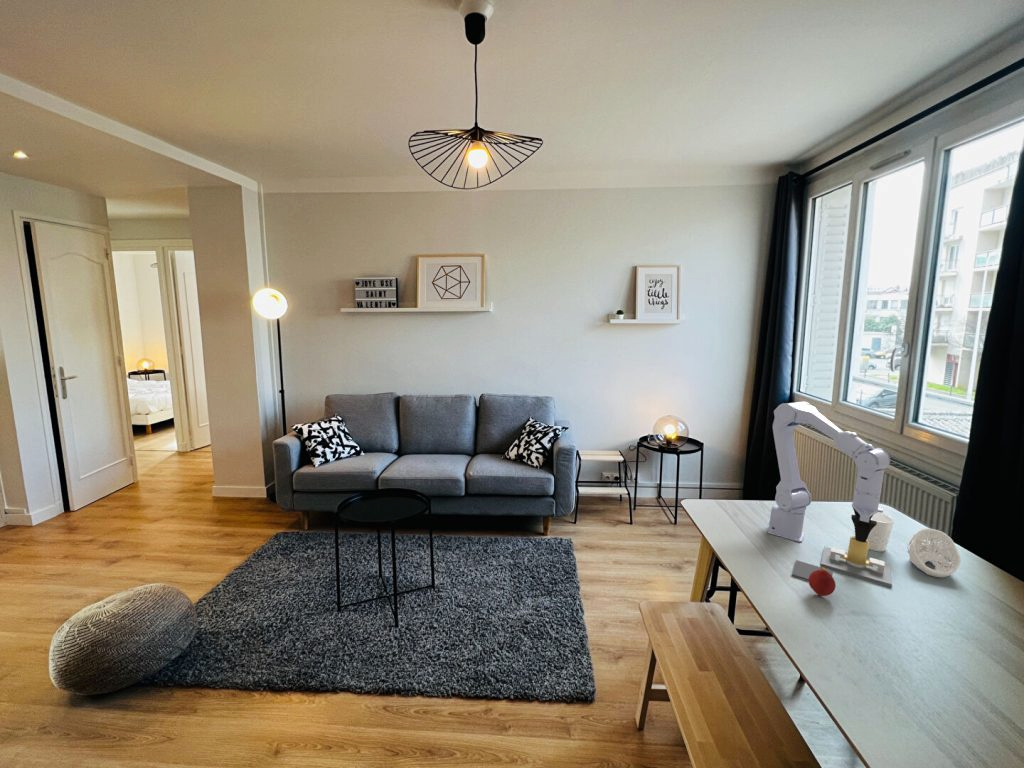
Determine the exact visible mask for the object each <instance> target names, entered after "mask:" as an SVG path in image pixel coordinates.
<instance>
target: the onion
mask: <svg viewBox="0 0 1024 768" xmlns="http://www.w3.org/2000/svg"><path fill="white" fill-rule="evenodd" d="M819 567H820V568H821V569H820V570H816V571H814V572H812V573H811V574H810V576H809V579H808V581H807V582H808V584H809V587H810V588H811V589H812V591H813V592H814V593H816V595H817V596H819V597H827V596H829V595H832V594H833V593H834V591H835V590H836V587H837V585H836V581H835V579H834V577H833V575H832V576H831V574H830V573H828V572H827V571H826V570H825V569H826V568H823V567H821V566H819Z"/></svg>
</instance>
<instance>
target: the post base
mask: <svg viewBox="0 0 1024 768" xmlns="http://www.w3.org/2000/svg"><path fill="white" fill-rule="evenodd" d="M844 555H848V551H847V552H846V550H843V549H840V548H836V547H833V546H831V547H829V546H824V547H823V552H822V557H821V558H822V559H821V562H820V567H823V568H825V569H828V570H832V571H833V572H837V573H841V574H844V575H848V576H851V577H854V578H857V579H860V580H861V579H862V580H864V581H867V582H871V583H874V584H878V585H881V586H885V587H888V588H892V587H893V580H892V568H891V567H892V566H891V563H887V562H885V561H884V560H880V559H877V558H873V557H869V558H868V557H867V559H866V560H867V561H869V564H872V565H873V567H871V566H868V565H857V564H854V563H851V562H850V561H848V560H846V559H843V558H840V556H843V557H844Z"/></svg>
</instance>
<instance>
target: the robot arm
mask: <svg viewBox="0 0 1024 768" xmlns="http://www.w3.org/2000/svg"><path fill="white" fill-rule="evenodd" d="M773 415H774V419H773V422H772V433H773V439H774V445H775V451H776V457H777V463H778V469H779V470H778V471H779V475H780V480H779V483H778V484H777V485H776V487H775V489H776V493H775V497H774V500H775V504H772V506H771V511H770V516H769V522H768V526H769V527H768V531H767V532H768V534H769V535H773V536H777V537H780V538H784V539H787V540H792V541H795V542H799V543H802V542H803V538H804V535H805V531H803V529H804V523H805V522H804V521H805V515H806V514H805V513H806V509H807V507H808V506H810V505H811V503H812V494H811V493H810V492H809V490H808V489H809V488H808V487H807V486H808V485H807V484H806V482H804V481H803V480H802V478H801V475H800V469H799V464H798V463H799V461H798V456H797V450H796V443H795V439H794V430H795V429H796V428H797V427H798V426H800V425H801V424H803V425H805V424H807V425H810V426H812V427H813V428H815V429H817V430H818V431H820V432H821V433H822V434H824V435H826V436H827V437H829V438H831V440H833V444H834V445H833V446H835V447H836V448H837V449H838V450H840V451H841V452H843V453H844V454H845V455H847V456H848V457H849V458H850V459H852V460H853V461H854V463H855V466H856V467H857V472H856V473H857V475H856V481H855V486H854V487H855V488H854V493H853V499H852V503H851V507H852V509H853V511H854V514H851V516H850V518H851V521H852V523H853V527H854V536H855V539H856V541H860V542H864V543H865V542H866V540H867V538H868V535H869V533H870V531H871V530H872V529H873V528H874V527H875V526H876V524H877V521H872V520H870V519H871V518H872V516H873V515H874V514H876V513H877V512H878V513H882V514H884V508H883V507H880V506H879V505H880V499H881V494H882V488H883V482H884V475H885V469H886V468H888V467H889V466H890V464H891V457H890V455H889V454H888V452H887V451H885V449H884V448H880V447H874V446H873V445H872V444H871V443H867V442H866V441H865V440H863V439H862V438H860V437H859V436H858V433H856V432H855V431H853V432H852V431H849V430H846V431H845V430H844V431H843V430H842V429H841V428H839V427H838V426H836V424H834V423H833V422H831V421H830V420H829V419H828V418H826V417H825V416H824V415H823V414H821V413H820V412H819V411H818V409H817V408H816V407H815V406H813V405H811V403H809V402H807V401H804V400H800V401H796V402H789V403H788V402H787V403H786V402H785V403H784V402H783V403H781V404H779V405H778V406H777V407H776V408H775V409H774V410H773Z"/></svg>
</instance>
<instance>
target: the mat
mask: <svg viewBox="0 0 1024 768" xmlns="http://www.w3.org/2000/svg"><path fill="white" fill-rule="evenodd" d="M820 567H821V566H818V565H815V564H813V563H812V564H810V563H807V562H805V561H801V560H797V559H796V560H795V564H794V566H793V570H792V574H791V576H792V577H793V578H797V579H800V580H804V581H806V582H808V579H809V576H810V574H811V573H812V572H814V571H816V570H820V569H821V568H820ZM825 570H826V571H827V572H828V573H830V574H831V576H832V577H833V574H834V571H833V570H830V569H827V568H825Z"/></svg>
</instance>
